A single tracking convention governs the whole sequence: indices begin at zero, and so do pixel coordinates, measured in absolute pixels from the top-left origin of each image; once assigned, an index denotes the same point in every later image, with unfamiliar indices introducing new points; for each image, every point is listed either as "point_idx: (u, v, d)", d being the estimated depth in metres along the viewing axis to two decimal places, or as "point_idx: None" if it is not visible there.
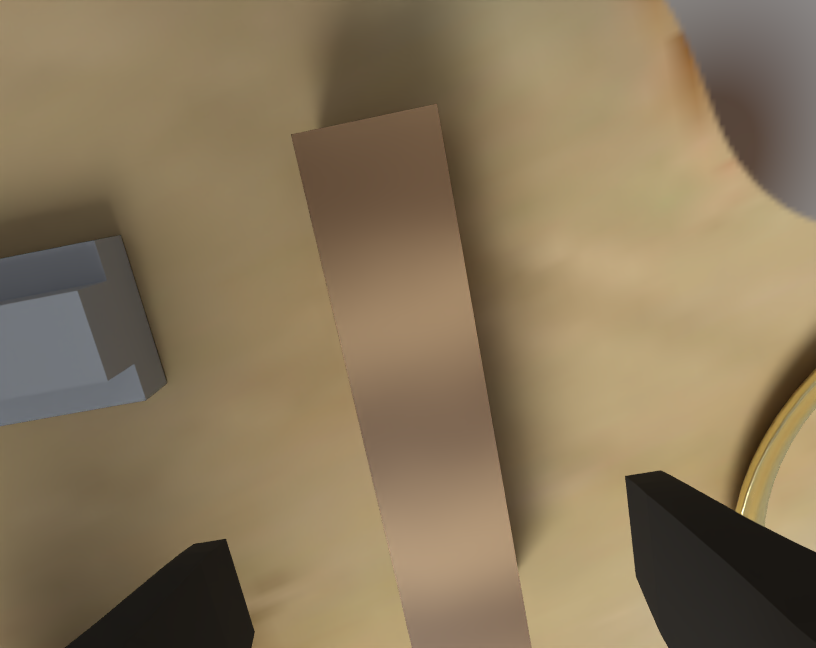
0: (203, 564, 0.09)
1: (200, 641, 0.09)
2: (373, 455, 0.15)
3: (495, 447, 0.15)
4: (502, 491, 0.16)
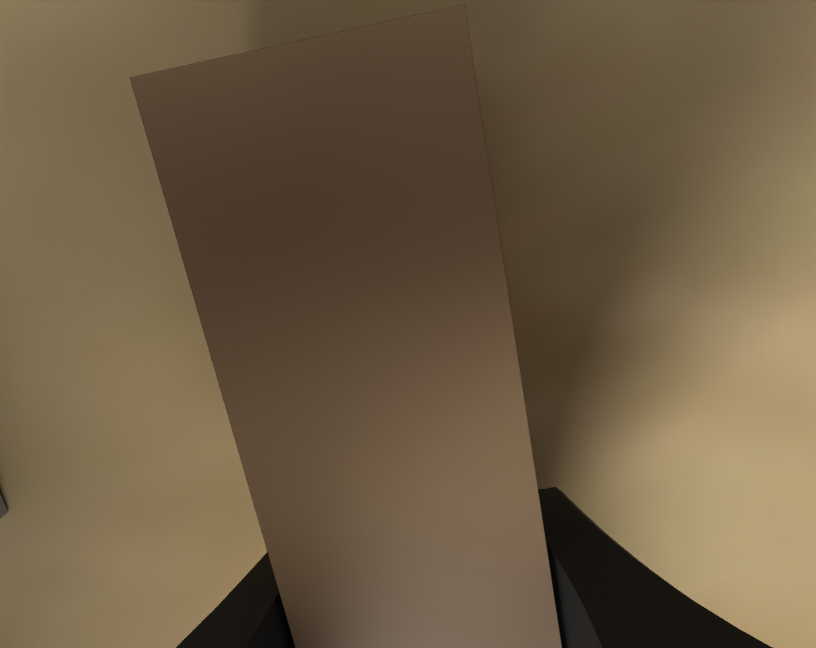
0: None
1: None
2: None
3: None
4: None
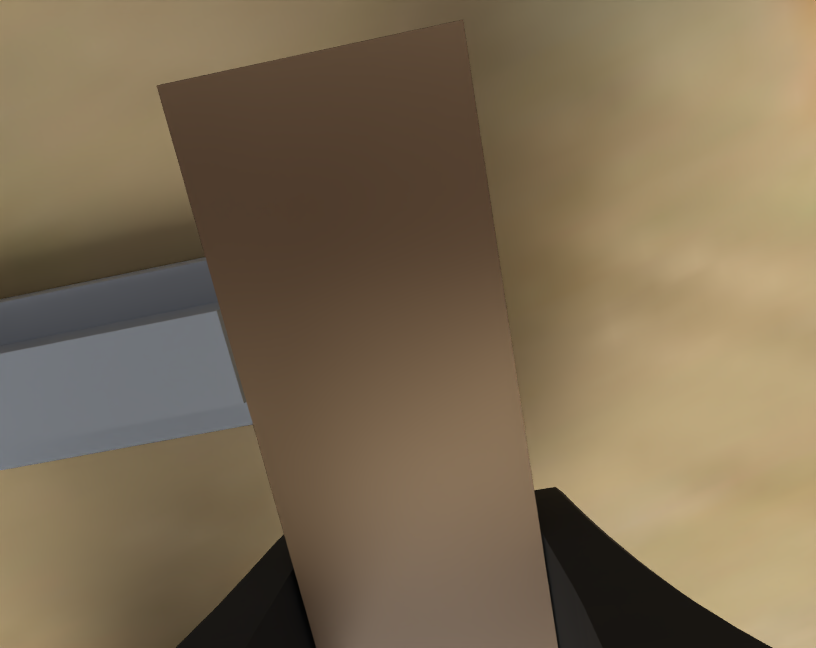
0: None
1: None
2: None
3: None
4: None
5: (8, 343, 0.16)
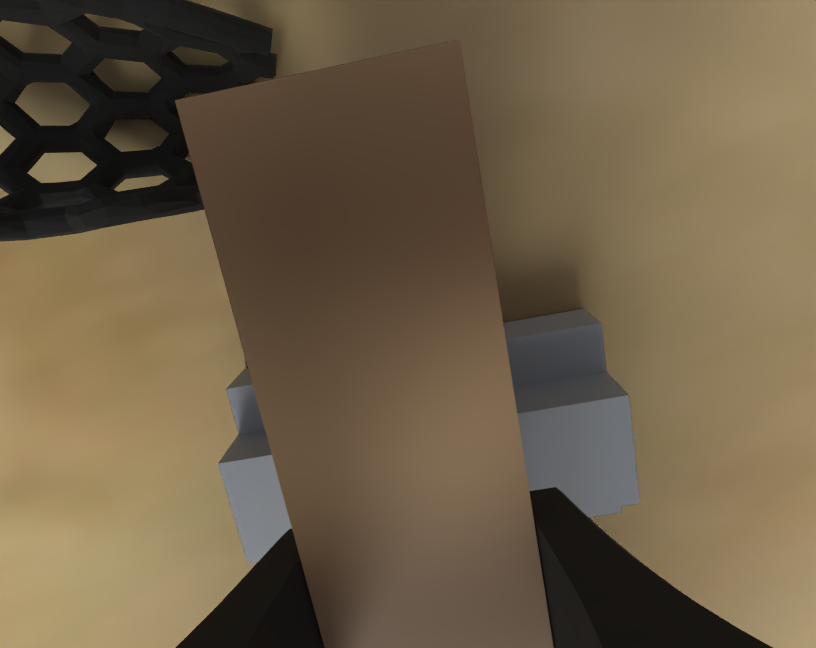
0: None
1: (311, 625, 0.09)
2: None
3: None
4: None
5: None
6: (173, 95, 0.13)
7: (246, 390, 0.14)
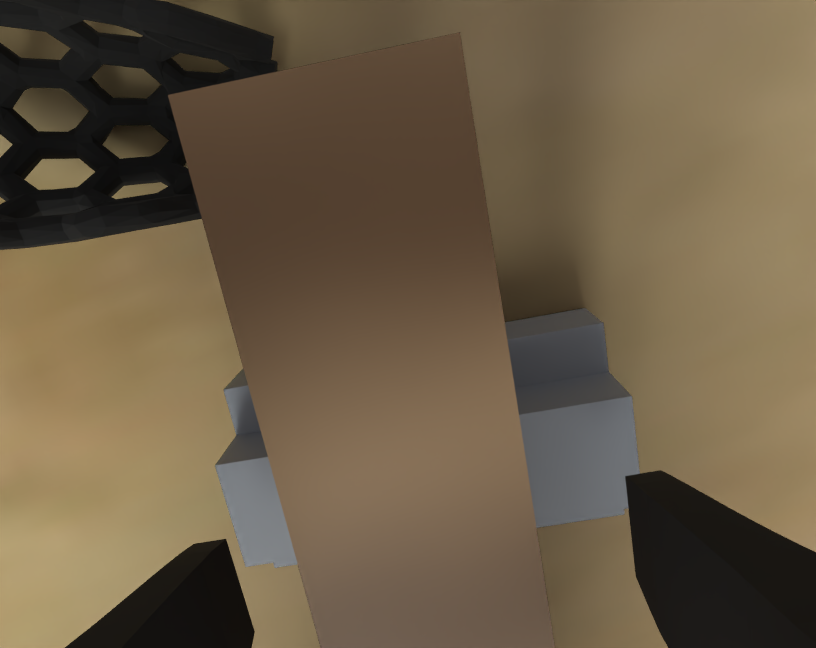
0: (203, 564, 0.09)
1: (200, 641, 0.09)
2: None
3: None
4: None
5: None
6: None
7: (244, 391, 0.14)
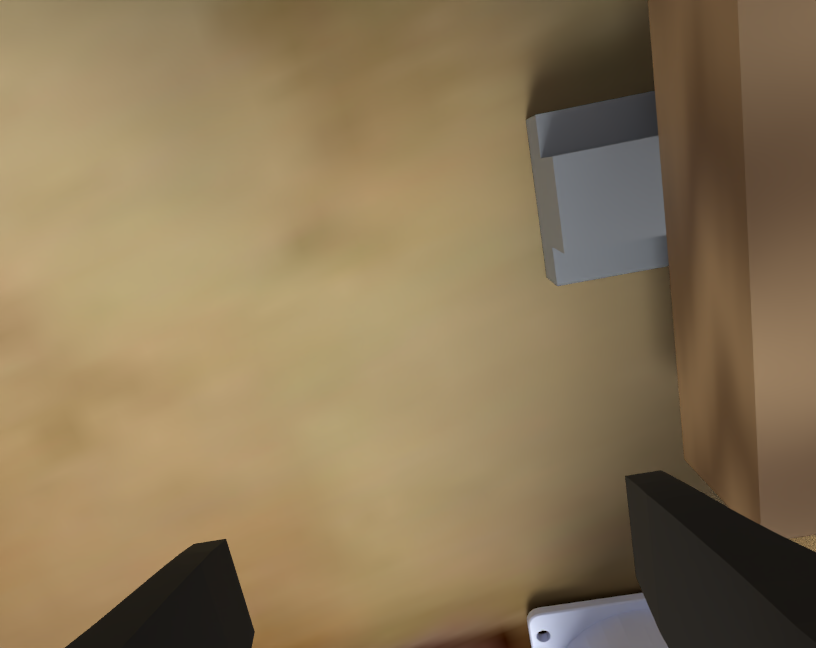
0: (203, 564, 0.09)
1: (200, 641, 0.09)
2: (756, 216, 0.11)
3: None
4: None
5: (618, 142, 0.16)
6: None
7: (553, 115, 0.16)
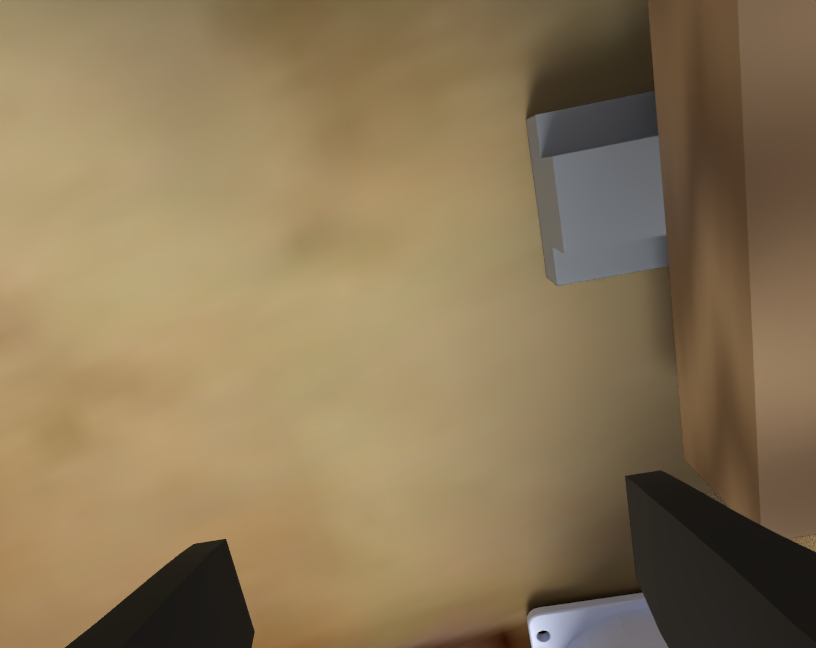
0: (203, 564, 0.09)
1: (200, 641, 0.09)
2: (756, 216, 0.11)
3: None
4: None
5: (618, 142, 0.16)
6: None
7: (553, 115, 0.16)
